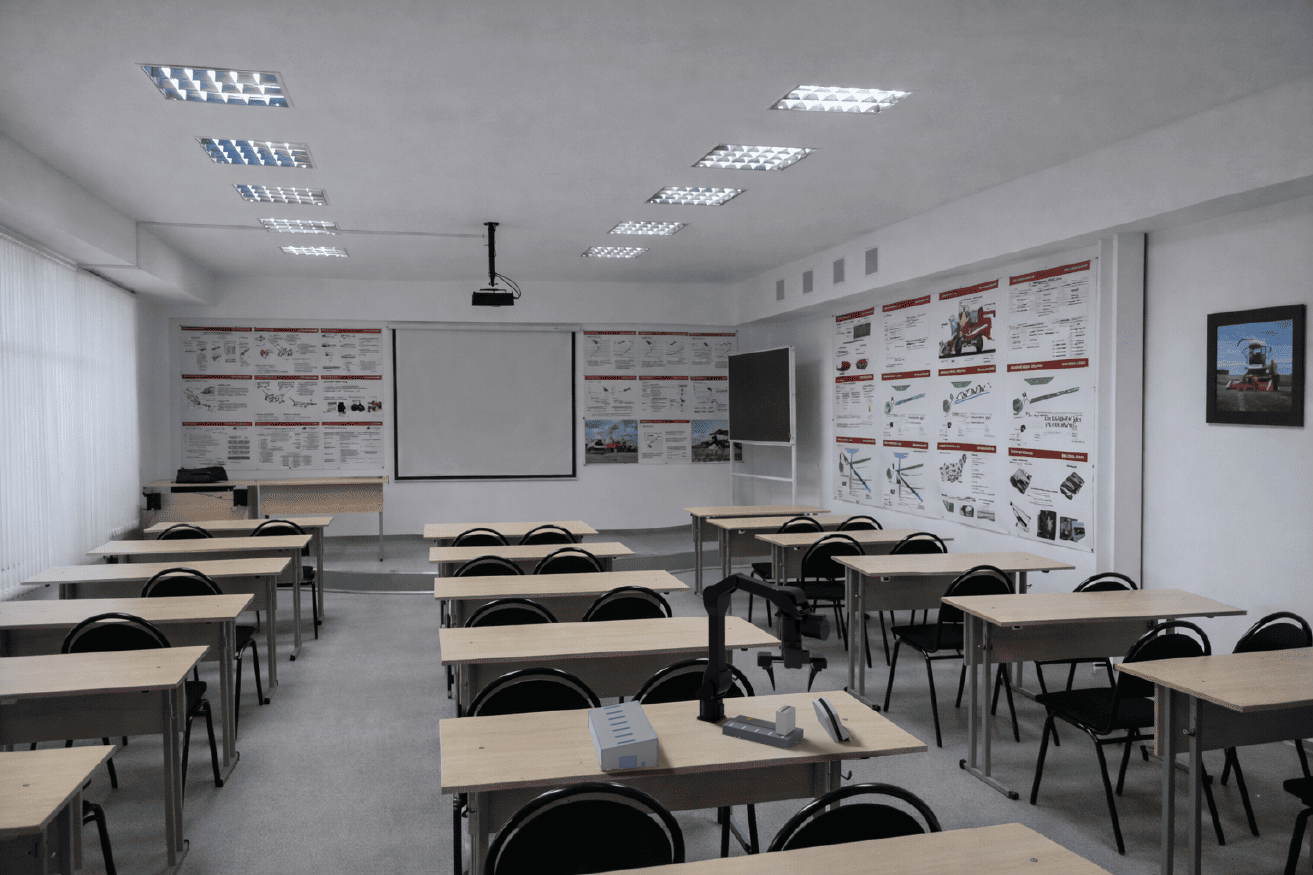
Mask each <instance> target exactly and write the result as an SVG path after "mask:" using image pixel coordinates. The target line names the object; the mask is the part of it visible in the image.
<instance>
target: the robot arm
mask: <svg viewBox="0 0 1313 875" xmlns="http://www.w3.org/2000/svg"><path fill="white" fill-rule="evenodd" d="M738 590H740V591H743V592H745V593H748V594H752V595H754V596H758V597H760V598H763V599H766V600H768V601H770V602H771V603H772V604H773V605H774V606H776V607H777V608H779V610H778V611H777V612H775V613H774V617H776V618H781V620H780V622H781V624H780V625H781V626H780V627H781V630H780V631H781V634H780V638H781V640H780V644H781V645H780V655H773V654H772V651H758V652H756V665H757V666H756V667H760V668H761V669H762V670H765V671H766V672H767V675H768V676H769V681H770V684H771V687H772V690H773V691H774V692H775V691H776V683H775V682H776V680H775V674H774V673H775V672H774V666H773V663H774V664H775V663H776V664H783V668H784V669H787V670H790V669H795V670H802V669H803V665H809V667H808V677H807V683H806V684H807V693H809V692H810V691H811V688H812V685H813V682H814V681H815V680H814V679H815V677H816V676H817V674H818V673H819V672H820V673H821V672H823V670H827V669H828V660H827V656H826V655H825V654H824V653H820V652H818V653H816V652H815V653H813V652H812V653H811V652H810V650H809V649H803V637H804V638H807V639H813V640H816V641H817V640H818V641H822V642H823V641H824V642H826V641H827V640H828V638H829V637H830V635H831V634H830V633H831V625H830V622H829V619H828V618H827V614H825V613H824V614H823V613H815V611H814V609H813V608H812V606H811V604H810V603H809V600H808V599H807V597H806V593H805V591H804V589H802V588H800V587H797V586H790V585H777V584H774V583H770V582H767V581H765V580H761V579H759V578H756V577H753V576H749V575H747V574H745V573H743V572H735V573H731V574H729V575H728V576H726V577H725V578H724V579H722V580H720V581H719V582H716V583H715V584H711V585H707V586H705V588H704V589H703V590H702V603H703V608H704V609H705V611H706V613H707V616H708V619H707V620H708V621H707V622H708V623H707V624H708V634H707V635H708V642H707V643H708V645H707V646H708V647H707V648H708V654H707V656H708V660H707V663H708V664H707V666H706V668H705V670H704V672H703V676H702V677H703V678H702V685H700V686H699V688H698V689H696V690H695V692H694V694H695V698H696V700H698V701H699V715H698V716H696V719H697V720H700V721H705V722H709V723H713V724H714V723H715V724H716V723H718V722H720V721H722V720H723V719H725V718H726V717H727V716H726V714H725V703H724V696H727V692H728V690H729V689H730V688H731V686H732V684H733V683H734V681H733V669H732V668H731V669H729V668H728V666H727V664H726V614H727V612H728V610H729V606H730V603H731V599H732V598H731V597H732V595H733V594H734V593H736V592H737V591H738ZM798 609H799V610H798Z"/></svg>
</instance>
